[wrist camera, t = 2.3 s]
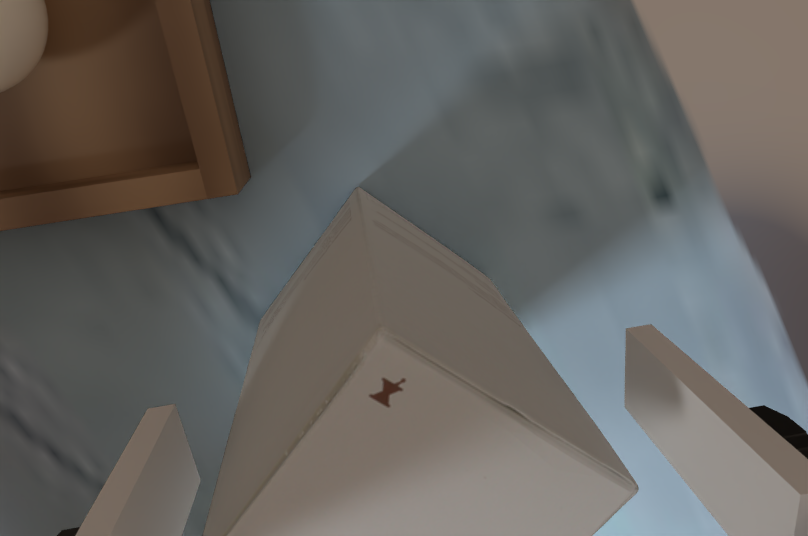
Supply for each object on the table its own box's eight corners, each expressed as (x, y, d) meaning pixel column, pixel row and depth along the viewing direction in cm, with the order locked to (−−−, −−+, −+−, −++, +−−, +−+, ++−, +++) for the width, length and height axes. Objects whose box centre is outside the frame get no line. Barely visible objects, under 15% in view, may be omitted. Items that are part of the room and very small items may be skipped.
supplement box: (254, 321, 23) (170, 587, 11) (357, 180, 22) (384, 318, 10) (393, 403, 25) (444, 697, 14) (496, 280, 24) (655, 491, 12)
